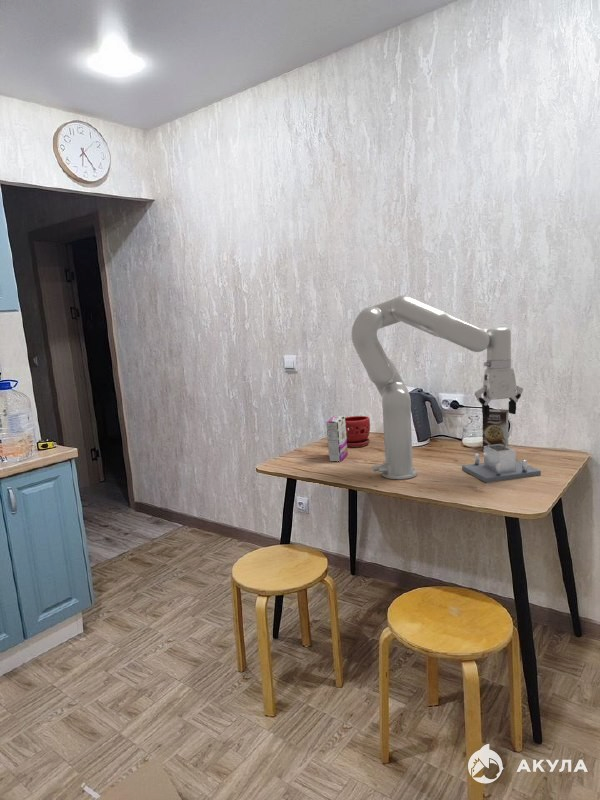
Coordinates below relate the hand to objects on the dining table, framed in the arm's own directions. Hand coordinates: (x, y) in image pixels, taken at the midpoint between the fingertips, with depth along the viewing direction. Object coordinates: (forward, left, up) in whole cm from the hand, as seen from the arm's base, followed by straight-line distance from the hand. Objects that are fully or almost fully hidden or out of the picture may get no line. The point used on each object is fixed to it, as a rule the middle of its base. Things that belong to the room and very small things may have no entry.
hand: (499, 414), depth 185 cm
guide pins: (0, 0, -19) cm, 19 cm away
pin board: (0, 0, -20) cm, 20 cm away
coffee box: (+14, +26, -20) cm, 36 cm away
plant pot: (-33, +60, -20) cm, 71 cm away
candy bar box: (-46, +42, -20) cm, 65 cm away
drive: (0, 0, -19) cm, 19 cm away
